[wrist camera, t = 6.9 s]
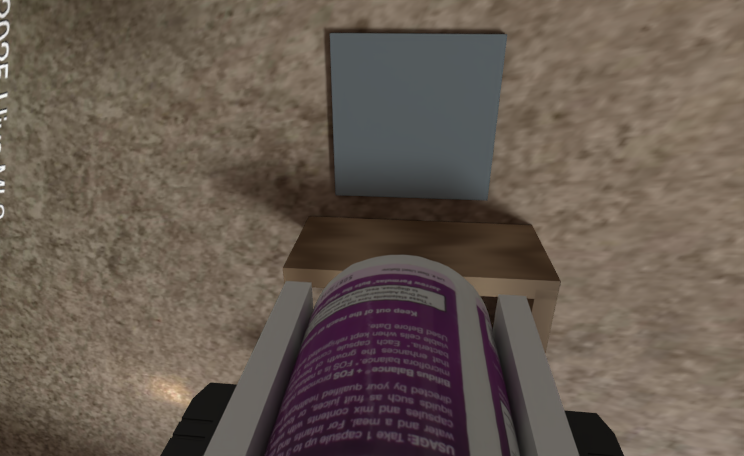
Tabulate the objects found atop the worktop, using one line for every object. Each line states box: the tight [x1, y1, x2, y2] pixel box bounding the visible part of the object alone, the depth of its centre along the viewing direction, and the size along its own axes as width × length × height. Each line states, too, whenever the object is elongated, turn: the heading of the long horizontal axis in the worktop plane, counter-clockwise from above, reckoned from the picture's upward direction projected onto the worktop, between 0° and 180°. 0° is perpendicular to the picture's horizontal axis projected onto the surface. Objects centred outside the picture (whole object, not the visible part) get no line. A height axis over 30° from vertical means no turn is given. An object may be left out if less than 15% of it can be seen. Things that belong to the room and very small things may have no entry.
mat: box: [330, 33, 507, 200], centre depth 29 cm, size 10×10×1 cm
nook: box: [283, 216, 561, 353], centre depth 32 cm, size 15×14×7 cm
